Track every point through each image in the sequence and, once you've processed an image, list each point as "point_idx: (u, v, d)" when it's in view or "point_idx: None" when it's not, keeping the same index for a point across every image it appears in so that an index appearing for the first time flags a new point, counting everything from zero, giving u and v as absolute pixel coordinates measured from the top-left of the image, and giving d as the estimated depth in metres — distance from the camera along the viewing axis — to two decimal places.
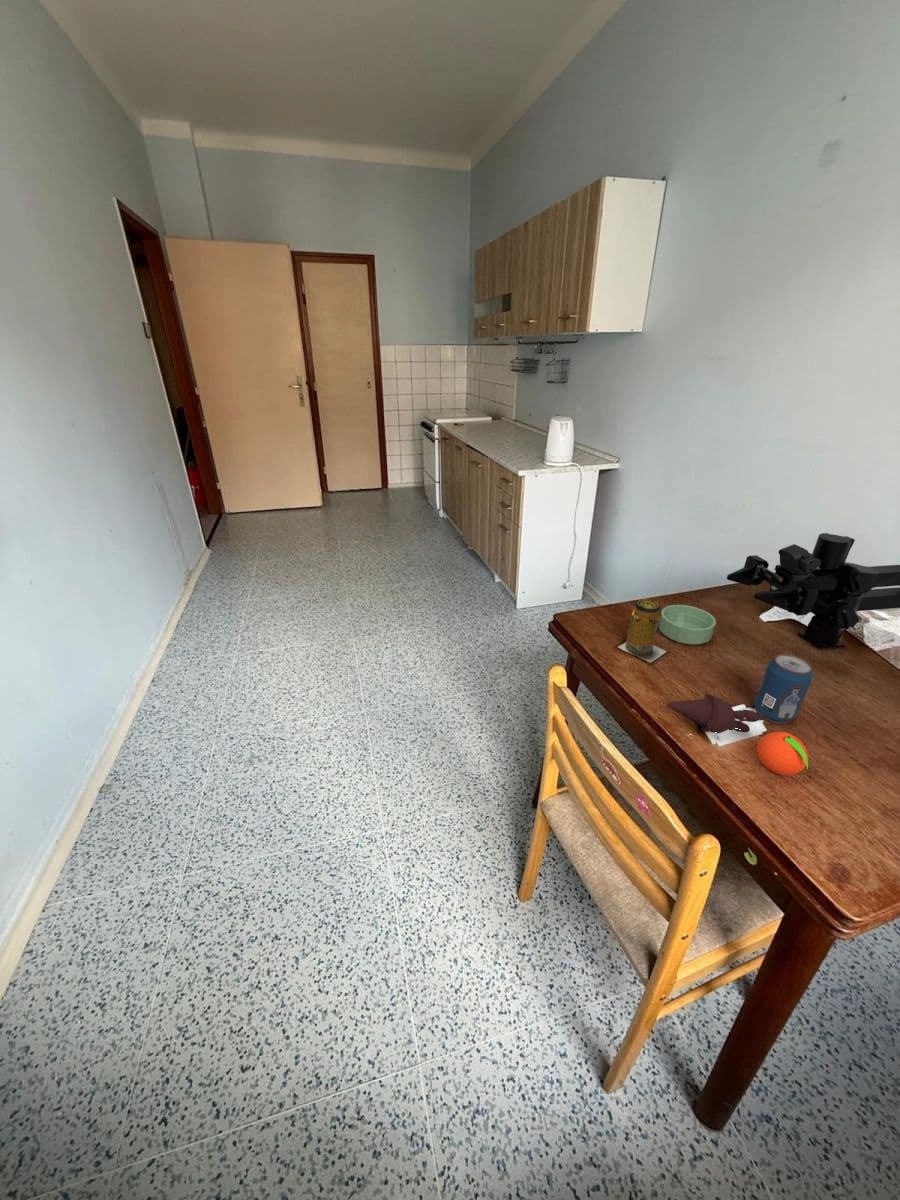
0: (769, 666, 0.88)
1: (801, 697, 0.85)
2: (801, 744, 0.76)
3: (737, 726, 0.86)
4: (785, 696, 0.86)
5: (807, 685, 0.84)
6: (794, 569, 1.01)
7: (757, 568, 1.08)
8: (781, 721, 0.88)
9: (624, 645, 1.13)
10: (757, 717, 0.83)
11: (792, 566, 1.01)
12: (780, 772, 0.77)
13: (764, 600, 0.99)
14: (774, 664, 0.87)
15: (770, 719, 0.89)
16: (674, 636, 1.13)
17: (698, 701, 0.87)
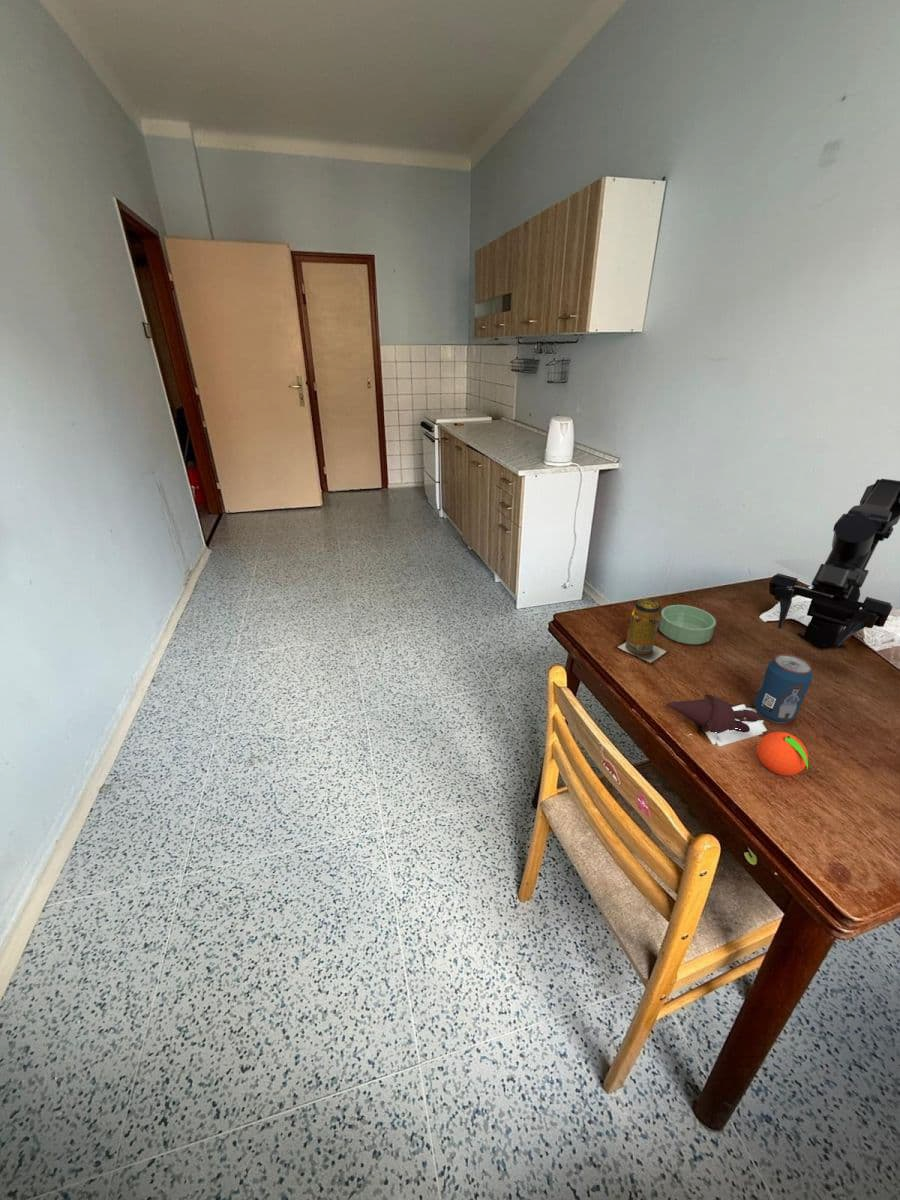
0: (769, 666, 0.88)
1: (801, 697, 0.85)
2: (801, 744, 0.76)
3: (737, 726, 0.86)
4: (785, 696, 0.86)
5: (807, 685, 0.84)
6: (843, 587, 0.87)
7: None
8: (781, 721, 0.88)
9: (624, 645, 1.13)
10: (757, 717, 0.83)
11: (838, 585, 0.87)
12: (780, 772, 0.77)
13: (844, 639, 0.88)
14: (774, 664, 0.87)
15: (770, 719, 0.89)
16: (674, 636, 1.13)
17: (698, 701, 0.87)
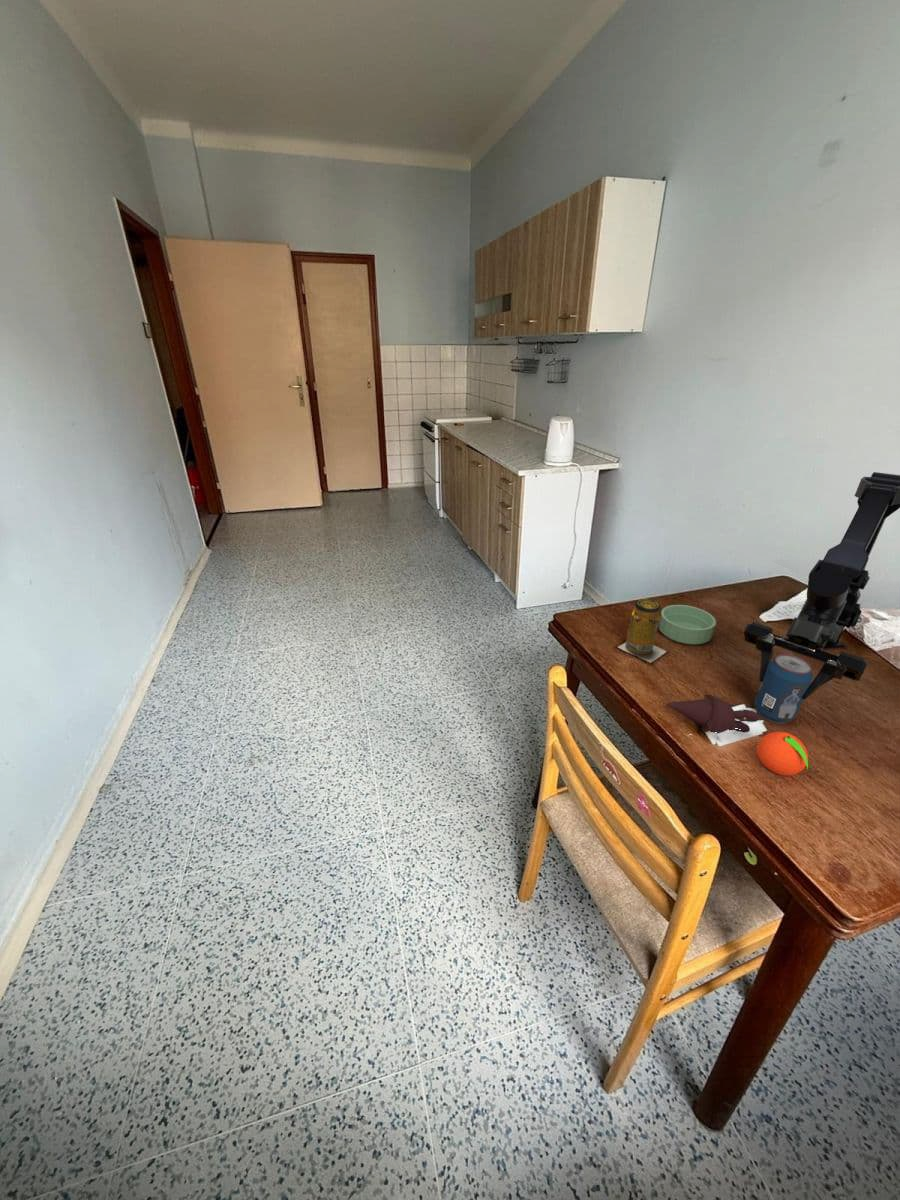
0: (769, 666, 0.88)
1: (801, 697, 0.85)
2: (801, 744, 0.76)
3: (737, 726, 0.86)
4: (785, 696, 0.86)
5: (807, 685, 0.84)
6: None
7: None
8: (781, 721, 0.88)
9: (624, 645, 1.13)
10: (757, 717, 0.83)
11: None
12: (780, 772, 0.77)
13: None
14: (774, 664, 0.87)
15: (770, 719, 0.89)
16: (674, 636, 1.13)
17: (698, 701, 0.87)
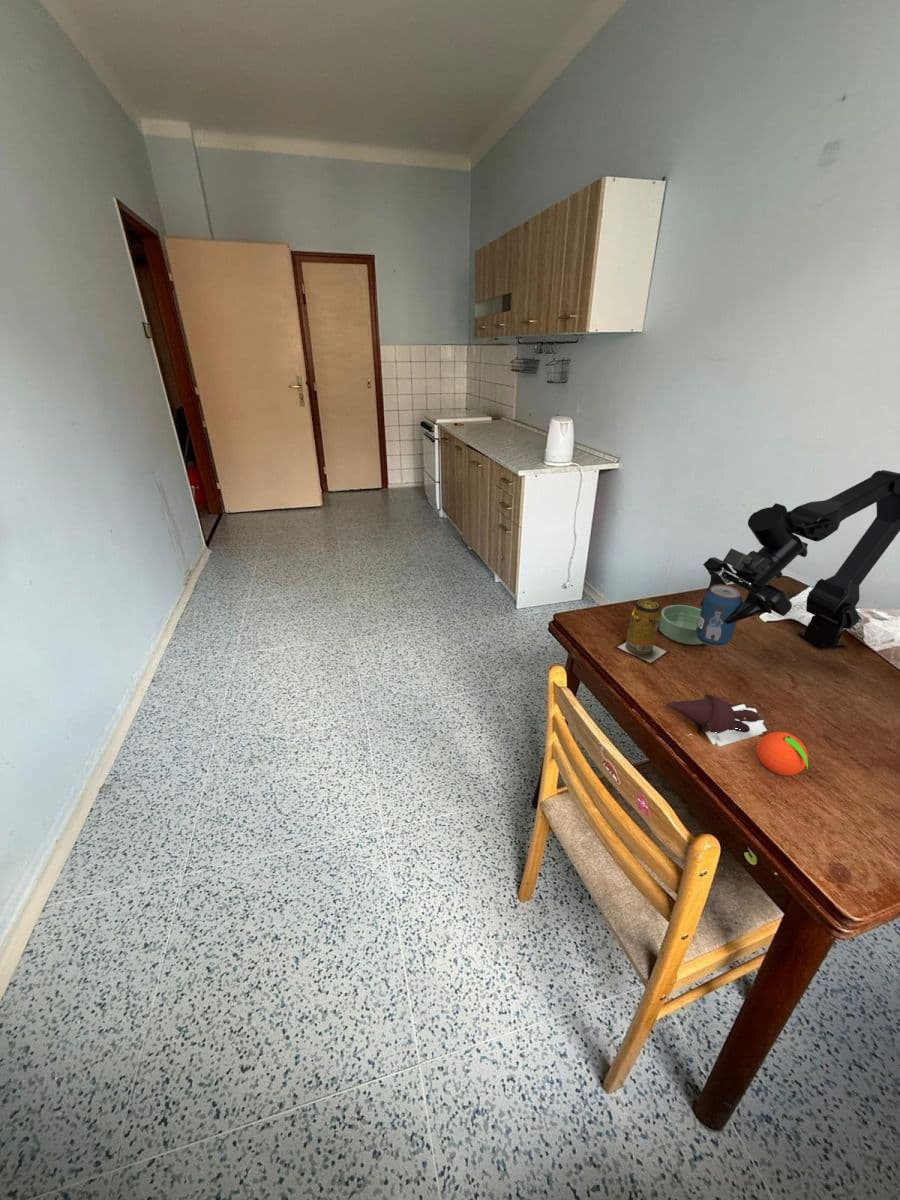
0: None
1: (725, 621, 0.96)
2: (801, 744, 0.76)
3: (737, 726, 0.86)
4: (709, 617, 0.98)
5: (729, 610, 0.95)
6: (748, 572, 0.94)
7: None
8: (709, 642, 1.00)
9: (624, 645, 1.13)
10: (757, 717, 0.83)
11: None
12: (780, 772, 0.77)
13: (739, 618, 0.96)
14: None
15: (701, 640, 1.02)
16: (674, 636, 1.13)
17: (698, 701, 0.87)
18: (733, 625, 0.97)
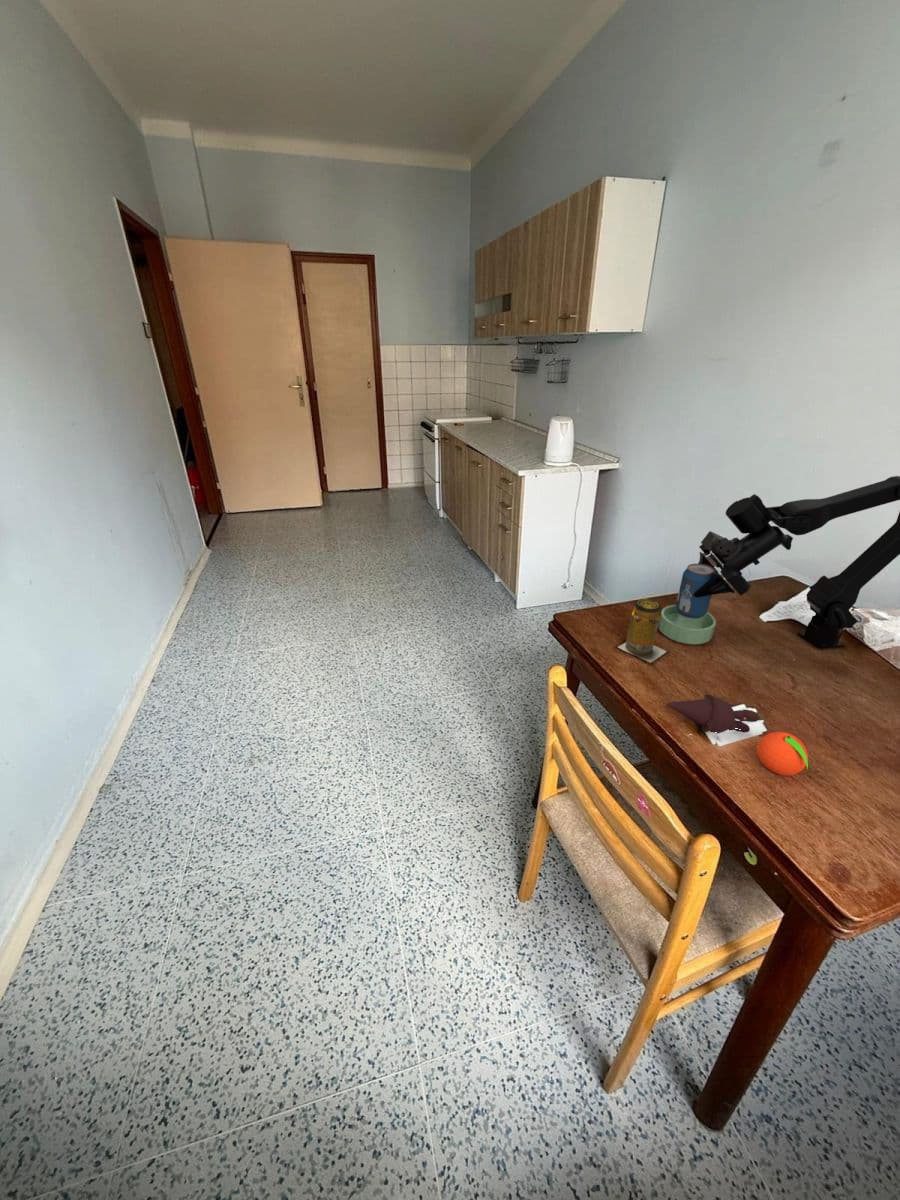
0: None
1: None
2: (801, 744, 0.76)
3: (737, 726, 0.86)
4: (682, 590, 1.11)
5: (697, 584, 1.08)
6: None
7: None
8: (681, 613, 1.13)
9: (624, 645, 1.13)
10: (757, 717, 0.83)
11: None
12: (780, 772, 0.77)
13: (706, 594, 1.08)
14: None
15: None
16: (674, 636, 1.13)
17: (698, 701, 0.87)
18: (703, 600, 1.10)
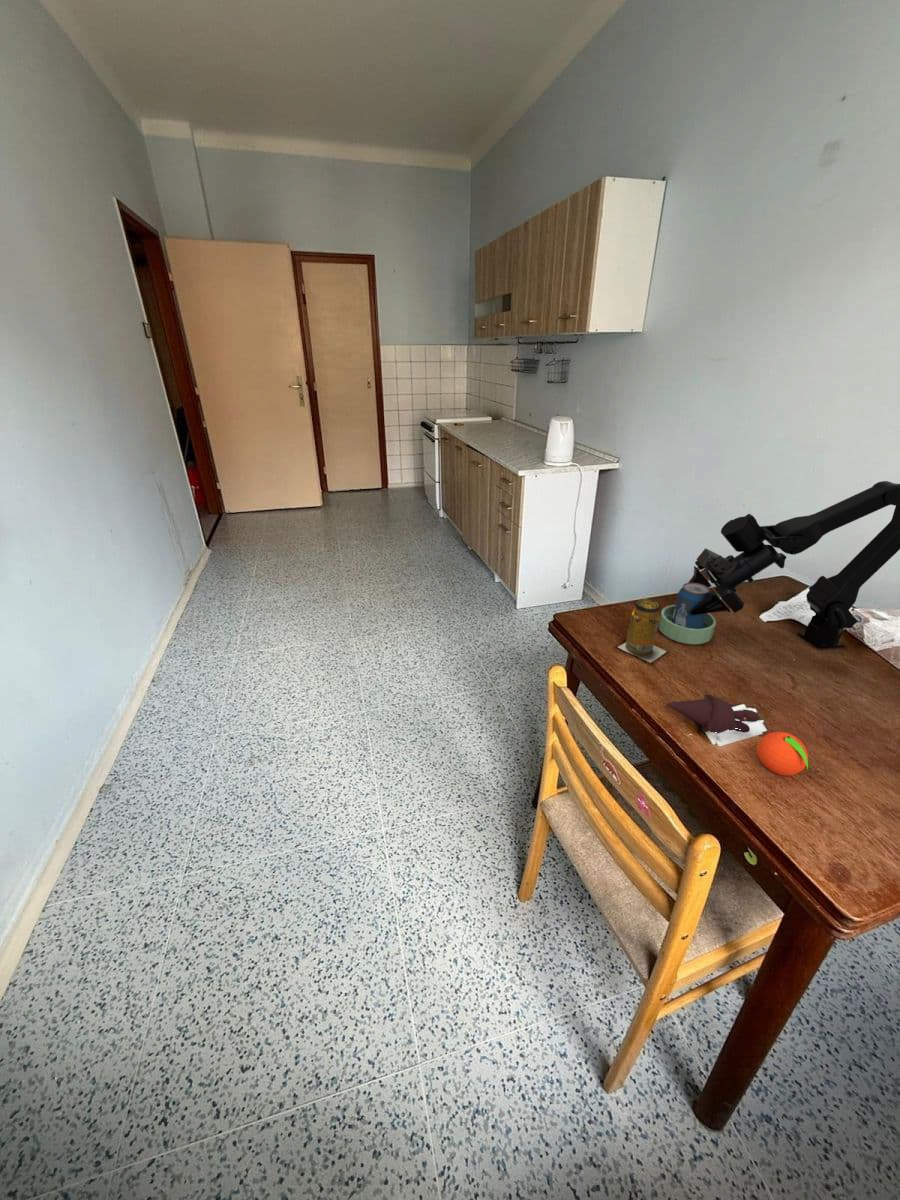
0: None
1: (689, 613, 1.12)
2: (801, 744, 0.76)
3: (737, 726, 0.86)
4: (678, 608, 1.14)
5: (693, 604, 1.10)
6: None
7: (703, 572, 1.15)
8: None
9: (624, 645, 1.13)
10: (757, 717, 0.83)
11: None
12: (780, 772, 0.77)
13: (702, 612, 1.09)
14: None
15: None
16: (674, 636, 1.13)
17: (698, 701, 0.87)
18: (698, 619, 1.12)
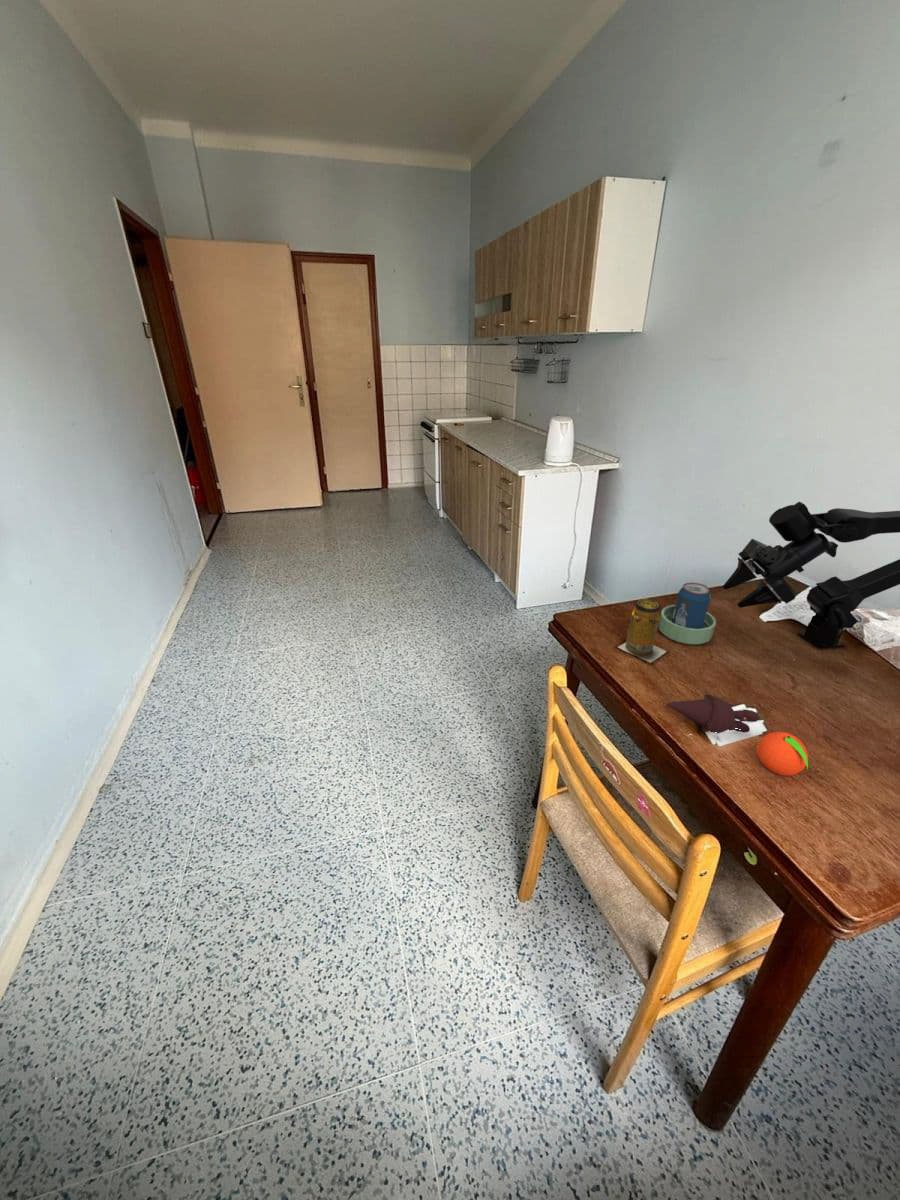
0: None
1: (689, 613, 1.12)
2: (801, 744, 0.76)
3: (737, 726, 0.86)
4: (678, 608, 1.14)
5: (693, 604, 1.10)
6: None
7: (748, 563, 1.13)
8: None
9: (624, 645, 1.13)
10: (757, 717, 0.83)
11: None
12: (780, 772, 0.77)
13: (750, 604, 1.06)
14: None
15: None
16: (674, 636, 1.13)
17: (698, 701, 0.87)
18: (698, 619, 1.12)
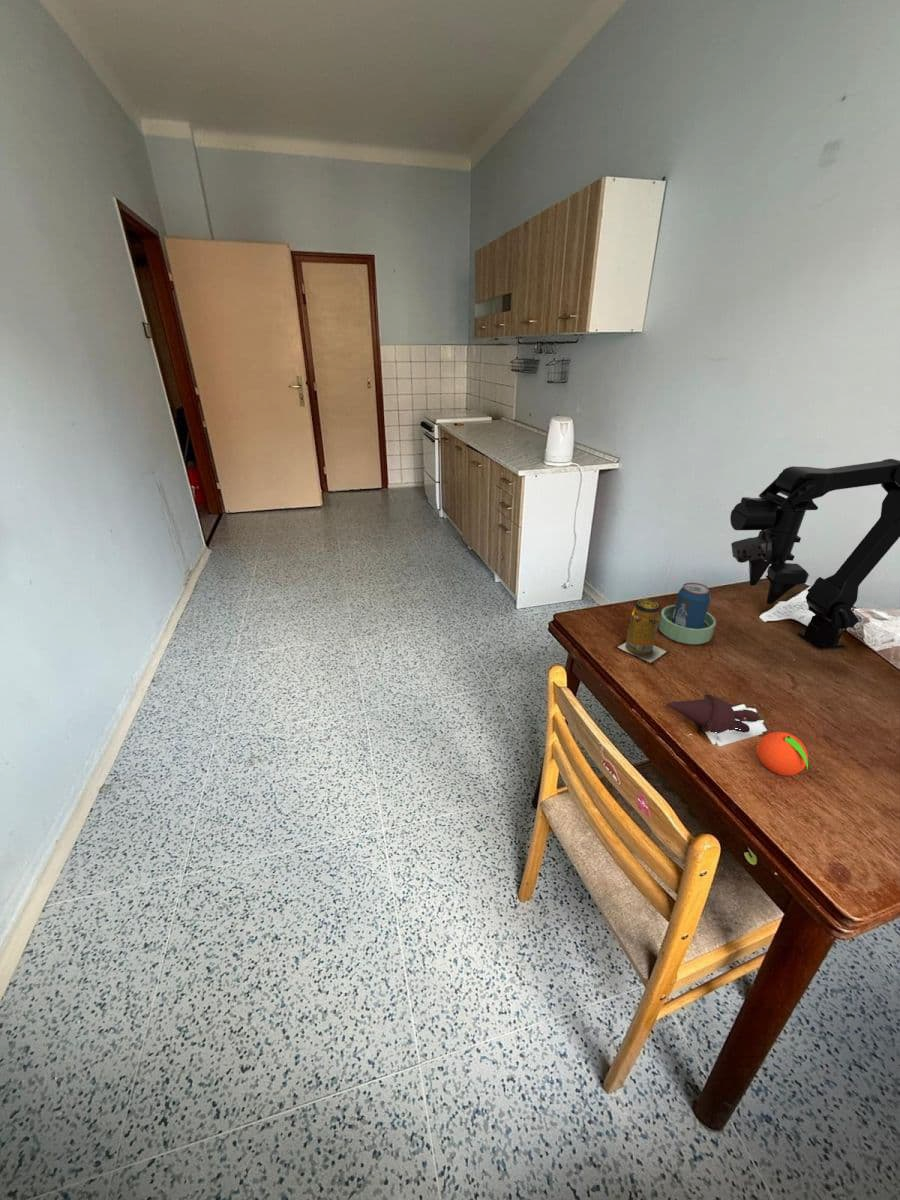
0: None
1: (689, 613, 1.12)
2: (801, 744, 0.76)
3: (737, 726, 0.86)
4: (678, 608, 1.14)
5: (693, 604, 1.10)
6: None
7: None
8: None
9: (624, 645, 1.13)
10: (757, 717, 0.83)
11: None
12: (780, 772, 0.77)
13: (778, 596, 1.02)
14: None
15: None
16: (674, 636, 1.13)
17: (698, 701, 0.87)
18: (698, 619, 1.12)
